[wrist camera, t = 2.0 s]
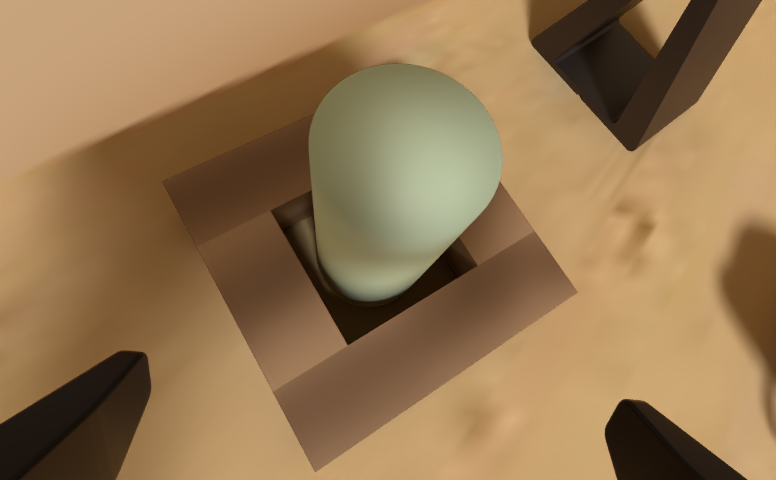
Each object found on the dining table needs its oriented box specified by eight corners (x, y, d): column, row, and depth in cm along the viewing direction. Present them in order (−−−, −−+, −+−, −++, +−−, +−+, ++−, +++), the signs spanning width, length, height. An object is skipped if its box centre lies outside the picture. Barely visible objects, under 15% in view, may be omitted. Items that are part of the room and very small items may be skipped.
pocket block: (545, 302, 22) (578, 292, 19) (316, 457, 19) (314, 472, 16) (408, 102, 24) (419, 67, 22) (184, 207, 21) (162, 181, 18)
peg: (436, 241, 22) (532, 124, 12) (387, 327, 21) (447, 279, 10) (352, 191, 22) (374, 32, 12) (297, 272, 21) (267, 170, 10)
